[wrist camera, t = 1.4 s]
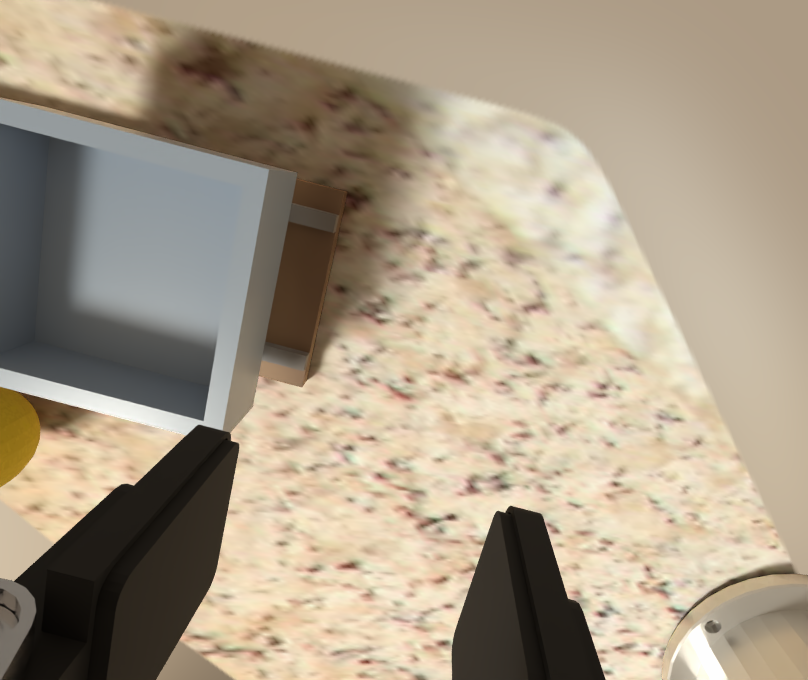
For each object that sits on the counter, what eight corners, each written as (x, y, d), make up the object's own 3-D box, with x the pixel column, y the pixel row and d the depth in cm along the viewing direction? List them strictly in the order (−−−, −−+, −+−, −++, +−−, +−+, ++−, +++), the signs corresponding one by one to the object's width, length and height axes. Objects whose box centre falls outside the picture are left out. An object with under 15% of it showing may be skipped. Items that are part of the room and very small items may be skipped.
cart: (308, 173, 25) (269, 169, 20) (265, 391, 28) (219, 444, 22) (76, 113, 25) (-33, 90, 20) (57, 337, 28) (-43, 375, 22)
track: (347, 191, 27) (332, 192, 23) (306, 380, 30) (286, 409, 26) (-175, 54, 27) (-277, 32, 23) (-170, 256, 30) (-260, 266, 26)
